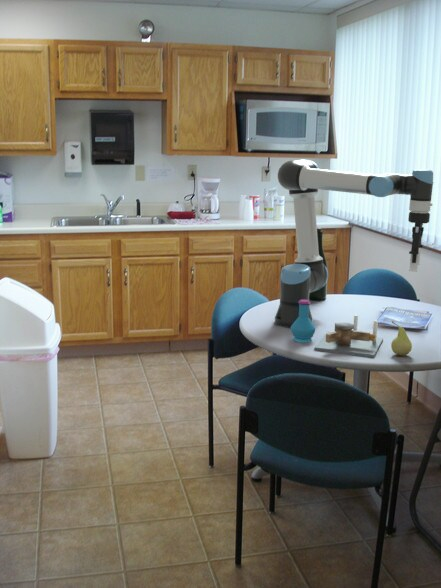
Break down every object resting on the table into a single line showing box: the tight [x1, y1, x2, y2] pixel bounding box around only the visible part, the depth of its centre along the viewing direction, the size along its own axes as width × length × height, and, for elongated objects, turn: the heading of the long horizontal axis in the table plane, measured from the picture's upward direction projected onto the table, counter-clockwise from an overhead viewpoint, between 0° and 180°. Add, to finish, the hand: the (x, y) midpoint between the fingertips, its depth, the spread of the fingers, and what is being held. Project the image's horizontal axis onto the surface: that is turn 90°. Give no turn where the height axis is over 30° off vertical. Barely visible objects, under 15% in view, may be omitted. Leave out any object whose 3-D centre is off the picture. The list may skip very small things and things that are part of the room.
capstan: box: [325, 322, 375, 345], centre depth 243 cm, size 16×16×7 cm
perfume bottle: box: [290, 300, 317, 343], centre depth 252 cm, size 9×9×15 cm
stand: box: [313, 314, 384, 359], centre depth 246 cm, size 21×21×9 cm
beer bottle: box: [309, 227, 328, 301], centre depth 313 cm, size 10×10×33 cm
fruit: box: [390, 320, 413, 357], centre depth 236 cm, size 7×8×12 cm
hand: (414, 267), depth 257 cm, fingers open, 13 cm apart
